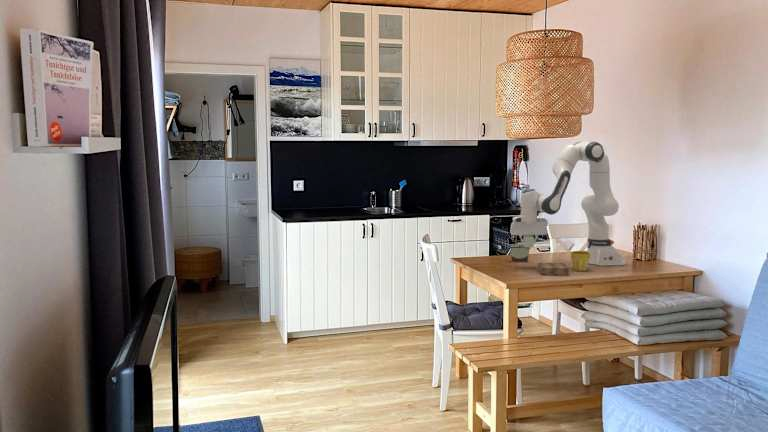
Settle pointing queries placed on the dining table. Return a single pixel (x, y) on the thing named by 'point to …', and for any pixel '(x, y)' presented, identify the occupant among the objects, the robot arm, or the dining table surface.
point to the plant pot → (580, 260)
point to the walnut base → (553, 269)
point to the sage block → (528, 241)
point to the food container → (519, 253)
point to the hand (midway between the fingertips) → (528, 242)
